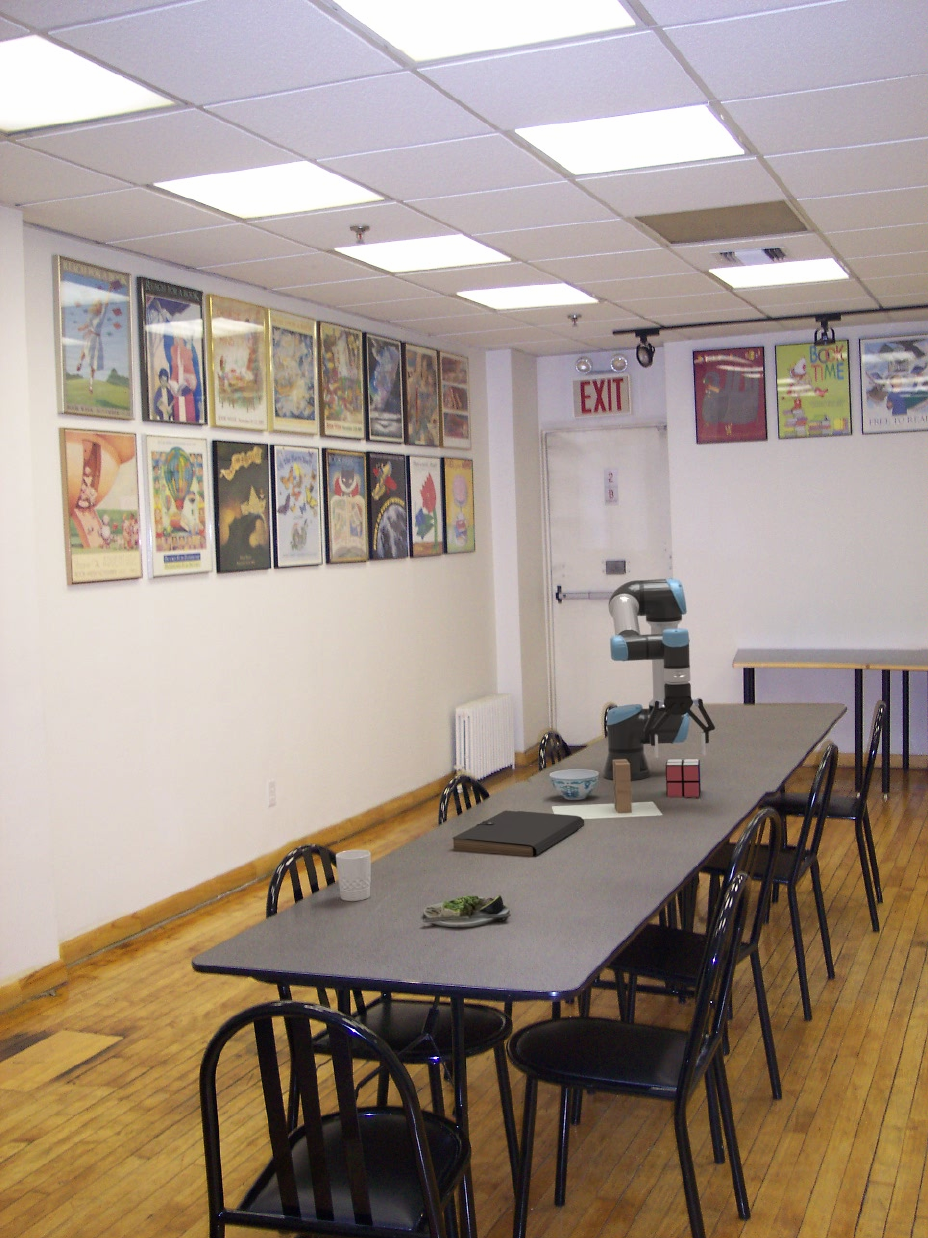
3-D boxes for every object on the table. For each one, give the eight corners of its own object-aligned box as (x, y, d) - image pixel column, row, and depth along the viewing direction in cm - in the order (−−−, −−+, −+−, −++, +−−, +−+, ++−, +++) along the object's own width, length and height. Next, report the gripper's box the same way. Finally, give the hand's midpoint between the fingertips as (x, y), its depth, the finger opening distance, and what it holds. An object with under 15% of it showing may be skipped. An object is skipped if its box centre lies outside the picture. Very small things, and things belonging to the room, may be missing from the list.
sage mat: (551, 807, 363) (551, 806, 363) (652, 803, 363) (652, 801, 363) (556, 821, 345) (556, 820, 345) (662, 816, 345) (662, 815, 345)
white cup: (338, 893, 284) (336, 851, 283) (372, 891, 285) (370, 848, 284) (337, 903, 276) (335, 859, 275) (372, 900, 277) (370, 857, 276)
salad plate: (440, 939, 249) (439, 917, 249) (403, 917, 265) (402, 896, 264) (522, 921, 258) (521, 899, 258) (481, 901, 274) (480, 881, 273)
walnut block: (614, 807, 358) (612, 759, 357) (628, 806, 358) (626, 759, 357) (617, 813, 350) (616, 764, 349) (631, 812, 350) (630, 764, 349)
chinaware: (609, 797, 374) (608, 772, 374) (579, 806, 363) (578, 780, 363) (571, 791, 385) (570, 767, 384) (540, 800, 374) (539, 775, 373)
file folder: (504, 809, 348) (584, 815, 337) (505, 823, 348) (584, 830, 337) (451, 836, 319) (536, 844, 308) (451, 852, 319) (537, 860, 308)
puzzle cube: (700, 798, 367) (699, 765, 366) (666, 798, 369) (665, 765, 368) (700, 791, 377) (699, 759, 376) (667, 791, 379) (666, 759, 378)
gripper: (635, 686, 348) (638, 760, 349) (723, 681, 348) (726, 756, 349) (632, 683, 355) (634, 755, 357) (718, 679, 355) (720, 751, 357)
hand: (680, 756), depth 353 cm, fingers open, 13 cm apart
